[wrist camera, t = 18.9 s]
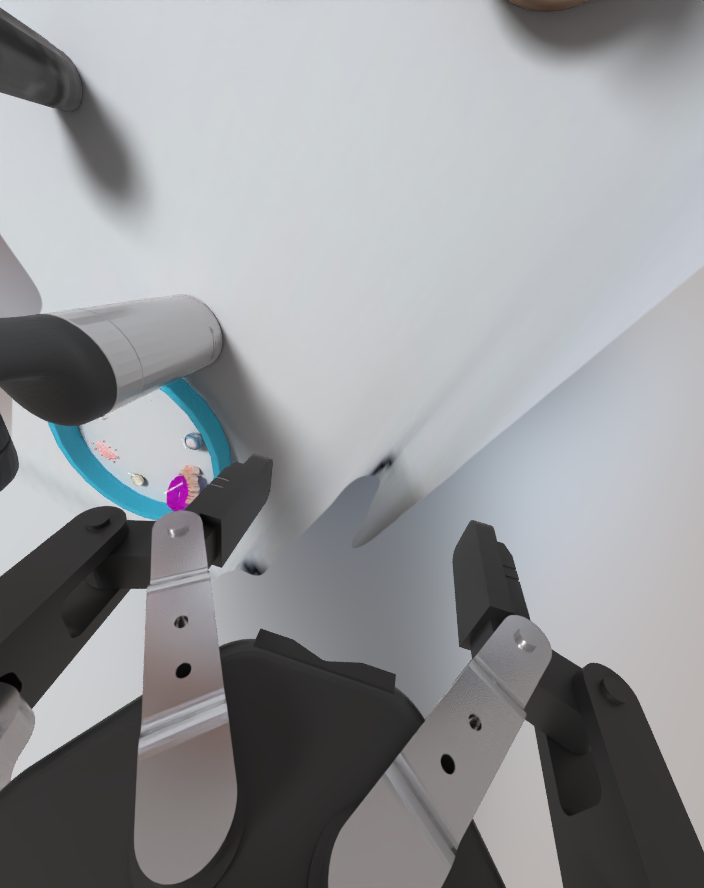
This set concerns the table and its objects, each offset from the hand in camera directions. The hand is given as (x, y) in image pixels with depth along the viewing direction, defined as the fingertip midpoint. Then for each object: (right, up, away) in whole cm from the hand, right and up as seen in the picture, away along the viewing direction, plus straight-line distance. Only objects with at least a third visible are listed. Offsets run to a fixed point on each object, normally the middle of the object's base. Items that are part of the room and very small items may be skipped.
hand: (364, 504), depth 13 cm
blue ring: (-35, +3, +42) cm, 55 cm away
